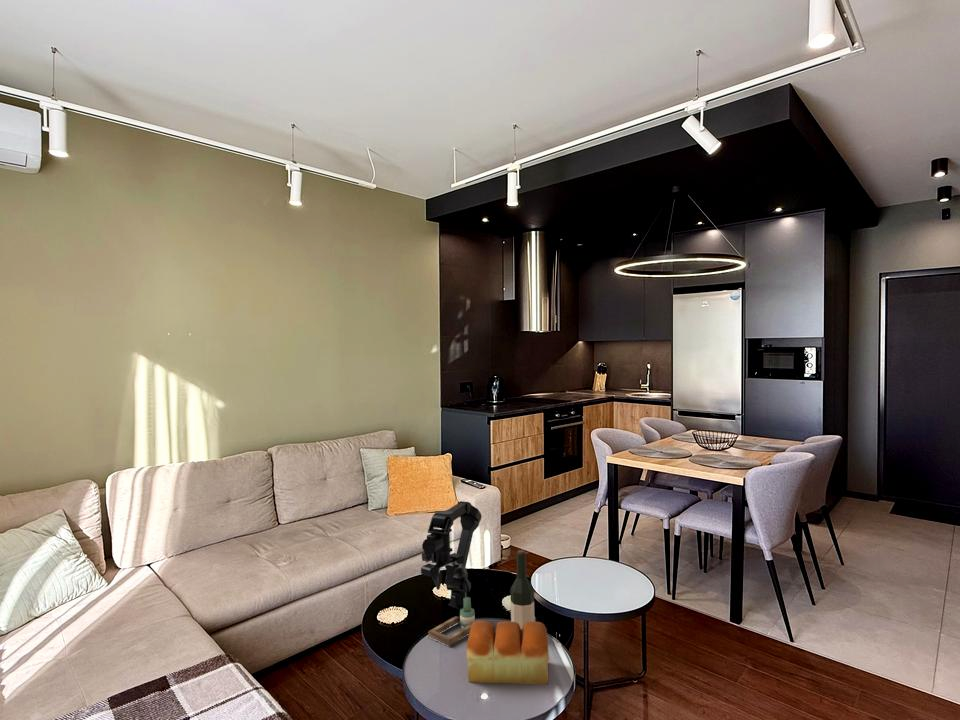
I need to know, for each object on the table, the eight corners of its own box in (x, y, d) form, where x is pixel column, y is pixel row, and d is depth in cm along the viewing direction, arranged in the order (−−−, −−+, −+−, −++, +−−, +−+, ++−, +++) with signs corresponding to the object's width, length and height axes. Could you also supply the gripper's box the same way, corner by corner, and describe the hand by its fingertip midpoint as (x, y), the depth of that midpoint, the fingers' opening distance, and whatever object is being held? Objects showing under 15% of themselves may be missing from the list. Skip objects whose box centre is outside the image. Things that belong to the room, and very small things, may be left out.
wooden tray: (455, 622, 198) (455, 616, 198) (476, 630, 191) (476, 623, 191) (428, 638, 187) (428, 631, 187) (449, 647, 180) (449, 639, 180)
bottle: (466, 620, 199) (466, 594, 199) (477, 624, 196) (477, 597, 196) (457, 626, 195) (456, 599, 195) (468, 630, 192) (467, 603, 192)
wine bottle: (534, 630, 190) (532, 547, 191) (535, 642, 182) (532, 555, 183) (511, 630, 191) (510, 547, 192) (511, 641, 183) (509, 555, 184)
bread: (547, 662, 170) (546, 616, 170) (549, 685, 157) (548, 635, 158) (471, 660, 172) (470, 614, 172) (466, 683, 160) (465, 634, 160)
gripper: (444, 536, 215) (444, 574, 214) (410, 548, 200) (411, 589, 200) (464, 541, 207) (465, 580, 207) (431, 554, 193) (432, 597, 193)
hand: (443, 586), depth 202 cm, fingers open, 6 cm apart
